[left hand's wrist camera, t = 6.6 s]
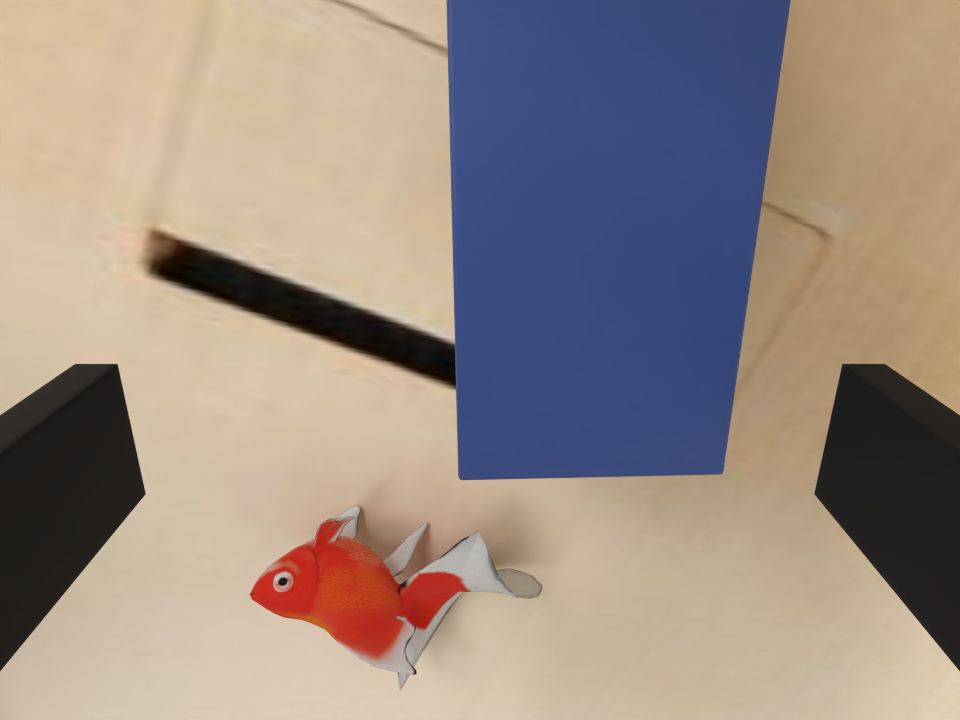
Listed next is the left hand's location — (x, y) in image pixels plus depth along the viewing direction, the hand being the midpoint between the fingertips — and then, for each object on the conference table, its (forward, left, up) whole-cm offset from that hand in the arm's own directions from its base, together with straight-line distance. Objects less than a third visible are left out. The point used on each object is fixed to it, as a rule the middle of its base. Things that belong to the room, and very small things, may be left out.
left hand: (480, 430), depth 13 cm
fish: (-13, -15, -23) cm, 31 cm away
